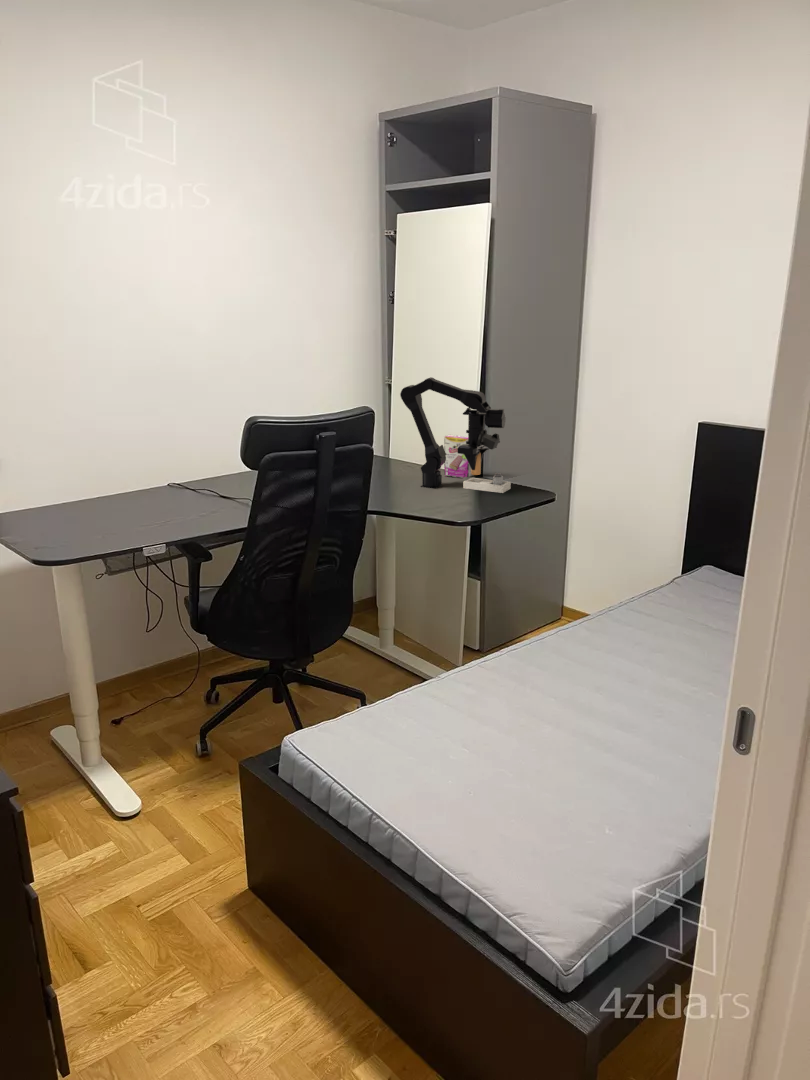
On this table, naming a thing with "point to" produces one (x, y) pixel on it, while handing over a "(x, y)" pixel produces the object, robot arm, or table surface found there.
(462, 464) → the snack bar box
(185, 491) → the table surface
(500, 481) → the grey plug
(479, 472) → the orange cylindrical bottle
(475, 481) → the white compartment tray
